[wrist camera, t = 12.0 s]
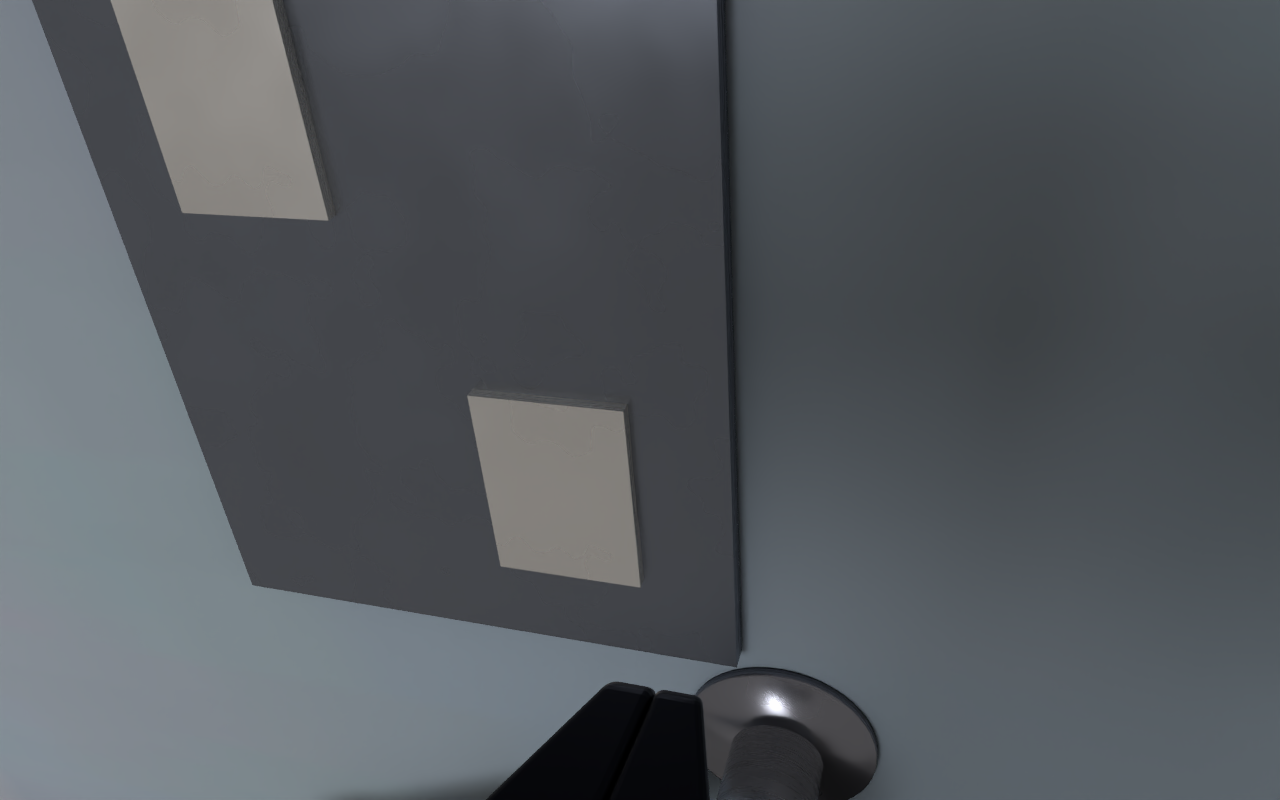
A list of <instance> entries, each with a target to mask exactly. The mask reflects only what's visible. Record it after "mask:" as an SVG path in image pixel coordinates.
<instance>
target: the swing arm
mask: <svg viewBox="0 0 1280 800" xmlns="http://www.w3.org/2000/svg"><path fill="white" fill-rule="evenodd" d="M822 770H823V761H822V758H821V755H820V753H819V752H818V750H817V749H816V748H815V747H814V746H813V744H812V743H810V742H809V741H808V740H807V739H805V738H804V737H802V736H801V735H799V734H797V733H795V732H793V731H790V730H787V729H785V728H781V727H776V726H768V725H760V726H753V727H749V728H746V729H744V730H742V731H740V732H739V733H738V734H737V735H736V736H735V737H734V738H733V740H732V743H731V747H730V751H729V754H728V758H727V762H726V766H725V770H724V774H723V777H722V781H721V785H720V789H719V793H718V797H717V800H818V794H819V788H820V782H821V776H822Z"/></svg>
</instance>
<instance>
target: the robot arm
mask: <svg viewBox="0 0 1280 800" xmlns="http://www.w3.org/2000/svg"><path fill="white" fill-rule="evenodd" d="M486 800H710V797H709V783H708V769H707V754H706V740H705V726H704V711H703V702H702V700H701V699H700V698H699V697H698V696H695V695H689V694H684V693H678V692H673V691H667V690H661V691H659V692H657V693H656V694H655V691H654V690H653V689H651V688H649V687H645V686H639V685H634V684H628V683H623V682H612V683H609V684H607V685H605V686H604V687H603V688H602V689H601V690H600V691H599V692H598V693H597V694H596V695H594V696H593V697H592V698H591V699H590V700H589V701H588V702H587V703H586V704H585V705H584V706H583V707H582V708H581V709H580V710H579V711H578V712H577V713H576V714H575V715H574V716H573V717H572V718H571V719H569V720H568V721H567V722H566V723H565V724H564V725H563V726H562V727H561V728H560V729H559V730H558V731H557V732H556V733H555V734H554V735H553V736H552V737H551V738H550V739H549V740H548V741H547V742H546V743H544V744H543V745H542V746H541V747H540V748H539V749H538V750H537V751H536V752H535V753H534V754H533V755H532V756H531V757H530V758H529V759H528V760H527V761H526V762H525V763H524V764H523V765H522V766H521V767H520V768H518V769H517V770H516V771H515V772H514V773H513V774H512V775H511V776H510V777H509V778H508V779H507V780H506V781H505V782H504V783H503V784H502V785H501V786H500V787H499V788H498V789H497V790H496V791H495V792H493V793H492V794H491V795H490V796H489V797H488V798H487V799H486Z"/></svg>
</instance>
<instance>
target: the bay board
mask: <svg viewBox="0 0 1280 800" xmlns="http://www.w3.org/2000/svg"><path fill="white" fill-rule="evenodd" d="M32 1H33V4H34V6H35V9H36V12H37V14H38V17H39V20H40V22H41V25H42V28H43V30H44V33H45V36H46V38H47V41H48V44H49V46H50V49H51V52H52V54H53V57H54V59H55V62H56V65H57V67H58V70H59V73H60V75H61V78H62V81H63V83H64V86H65V89H66V91H67V94H68V97H69V99H70V102H71V105H72V107H73V110H74V113H75V115H76V118H77V120H78V123H79V126H80V128H81V131H82V134H83V136H84V139H85V142H86V144H87V147H88V150H89V152H90V155H91V158H92V160H93V163H94V166H95V168H96V171H97V174H98V176H99V179H100V182H101V184H102V187H103V189H104V192H105V195H106V197H107V200H108V203H109V205H110V208H111V211H112V213H113V216H114V219H115V221H116V224H117V227H118V229H119V232H120V235H121V237H122V240H123V243H124V245H125V248H126V250H127V253H128V256H129V258H130V261H131V264H132V266H133V269H134V272H135V274H136V277H137V280H138V282H139V285H140V288H141V290H142V293H143V296H144V298H145V301H146V304H147V306H148V309H149V311H150V314H151V317H152V319H153V322H154V325H155V327H156V330H157V333H158V335H159V338H160V341H161V343H162V346H163V349H164V351H165V354H166V357H167V359H168V362H169V365H170V367H171V370H172V373H173V375H174V378H175V380H176V383H177V386H178V388H179V391H180V394H181V396H182V399H183V402H184V404H185V407H186V410H187V412H188V415H189V418H190V420H191V423H192V426H193V428H194V431H195V434H196V436H197V439H198V441H199V444H200V447H201V449H202V452H203V455H204V457H205V460H206V463H207V465H208V468H209V471H210V473H211V476H212V479H213V481H214V484H215V487H216V489H217V492H218V495H219V497H220V500H221V502H222V505H223V508H224V510H225V513H226V516H227V518H228V521H229V524H230V526H231V529H232V532H233V534H234V537H235V540H236V542H237V545H238V548H239V550H240V553H241V556H242V558H243V561H244V564H245V566H246V569H247V571H248V574H249V577H250V579H251V582H252V585H255V586H261V587H267V588H273V589H279V590H285V591H291V592H297V593H302V594H308V595H314V596H320V597H326V598H332V599H338V600H344V601H350V602H355V603H361V604H367V605H373V606H379V607H385V608H391V609H397V610H403V611H408V612H414V613H420V614H426V615H432V616H438V617H444V618H450V619H455V620H461V621H467V622H473V623H479V624H485V625H491V626H497V627H503V628H508V629H514V630H520V631H526V632H532V633H538V634H544V635H550V636H556V637H561V638H567V639H573V640H579V641H585V642H591V643H597V644H603V645H609V646H614V647H620V648H626V649H632V650H638V651H644V652H650V653H656V654H661V655H667V656H673V657H679V658H685V659H691V660H697V661H703V662H709V663H714V664H720V665H726V666H732V667H737V665H738V661H739V657H740V654H741V650H742V643H741V605H740V566H739V528H738V490H737V451H736V413H735V375H734V337H733V298H732V260H731V222H730V183H729V145H728V107H727V68H726V30H725V0H32Z"/></svg>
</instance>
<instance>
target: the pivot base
mask: <svg viewBox="0 0 1280 800" xmlns="http://www.w3.org/2000/svg"><path fill="white" fill-rule="evenodd" d="M695 696H698V697H699V698H700V699H701V700H702V702H703V711H704V726H705V740H706V754H707V768H708V769H710V770H711V771H712V772H713V773H714V774H715V775H716V776H718V777H719V778H720V779H722V777H723V774H724V770H725V766H726V762H727V758H728V754H729V751H730V747H731V743H732V740H733V738H734V737H735V736H736V735H737V734H738V733H739V732H740V731H742V730H744V729H746V728H749V727H753V726H760V725H768V726H776V727H781V728H785V729H787V730H790V731H793V732H795V733H797V734H799V735H801V736H802V737H804V738H805V739H807V740H808V741H809V742H810V743H812V744H813V746H814V747H815V748H816V749H817V750H818V752H819V753H820V755H821V758H822V761H823V770H822V776H821V782H820V788H819V794H818V800H848V799H850V798H852V797H854V796H855V795H857V794H858V793H860V792H861V791H862V790H863V789H864V788H865V787H866V786H867V785H868V784H869V782H870V781H871V779H872V777H873V775H874V773H875V769H876V763H877V755H878V746H877V741H876V736H875V734H874V731H873V729H872V727H871V725H870V724H869V722H868V720H867V719H866V717H865V716H864V715H863V714H862V712H861V711H860V710H859V709H858V708H857V707H856V706H855V705H854V704H853V703H852V702H851V701H849V700H848V699H847V698H846V697H844V696H843V695H842V694H840V693H839V692H837V691H836V690H834V689H832V688H831V687H829V686H827V685H825V684H823V683H821V682H819V681H816V680H814V679H812V678H809V677H806V676H803V675H800V674H797V673H793V672H788V671H784V670H777V669H769V668H749V669H740V670H735V671H731V672H727V673H724V674H721V675H719V676H717V677H715V678H713V679H711V680H710V681H708V682H707V683H705V684H704V685H703V686H702V687H701V688H700V689H699V690H698V692H697V693H696V694H695Z"/></svg>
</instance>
